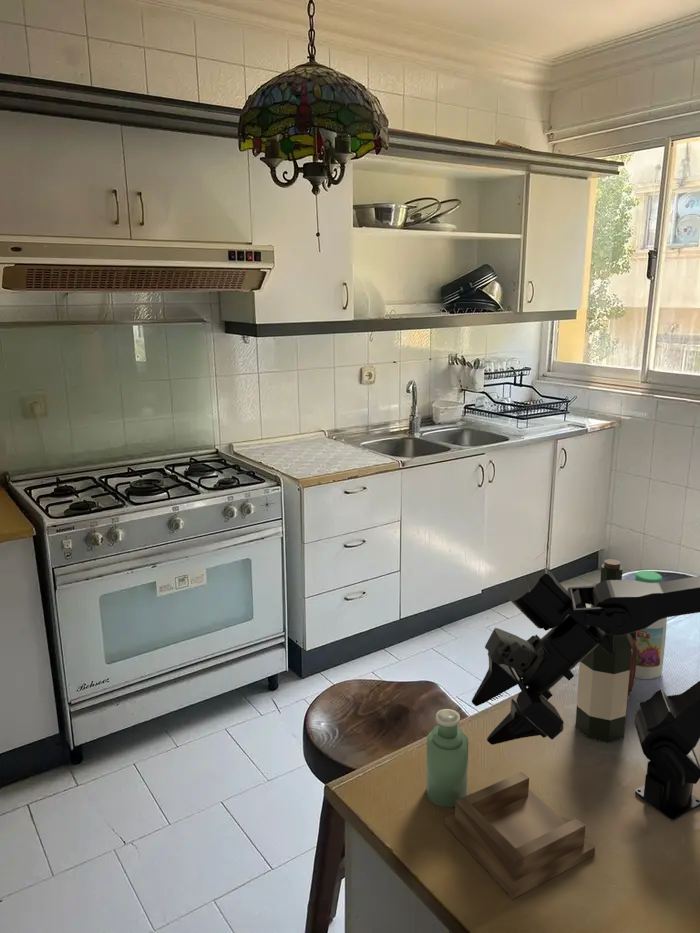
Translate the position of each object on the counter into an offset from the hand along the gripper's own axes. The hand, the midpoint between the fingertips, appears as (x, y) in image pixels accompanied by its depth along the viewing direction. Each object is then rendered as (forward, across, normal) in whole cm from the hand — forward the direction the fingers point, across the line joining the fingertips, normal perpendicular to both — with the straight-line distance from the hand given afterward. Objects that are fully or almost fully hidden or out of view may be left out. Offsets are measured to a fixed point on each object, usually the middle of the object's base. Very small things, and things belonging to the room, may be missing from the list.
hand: (480, 722), depth 99 cm
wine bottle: (-9, -14, +25) cm, 30 cm away
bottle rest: (+6, +10, +10) cm, 15 cm away
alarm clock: (-14, -22, +30) cm, 40 cm away
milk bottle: (-20, -31, +36) cm, 51 cm away
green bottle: (+12, 0, +5) cm, 13 cm away
